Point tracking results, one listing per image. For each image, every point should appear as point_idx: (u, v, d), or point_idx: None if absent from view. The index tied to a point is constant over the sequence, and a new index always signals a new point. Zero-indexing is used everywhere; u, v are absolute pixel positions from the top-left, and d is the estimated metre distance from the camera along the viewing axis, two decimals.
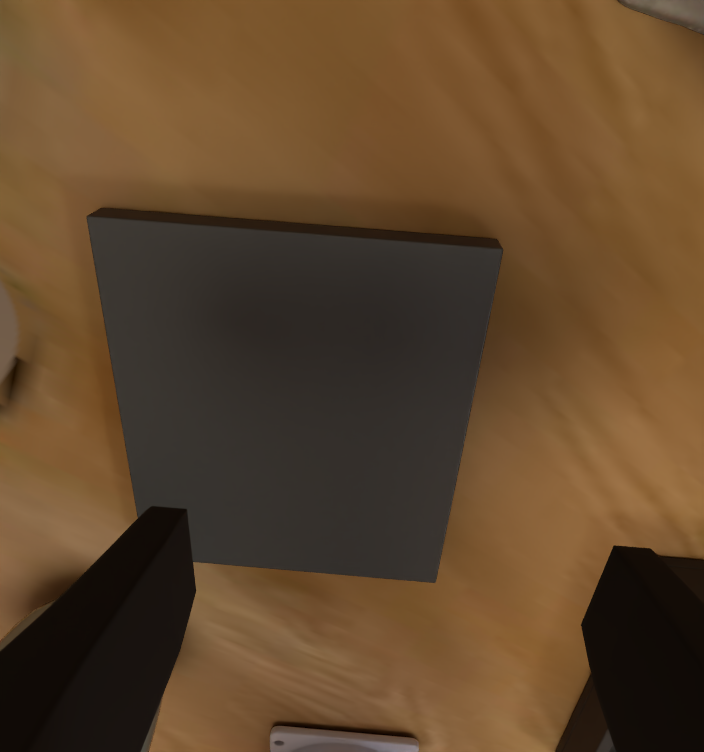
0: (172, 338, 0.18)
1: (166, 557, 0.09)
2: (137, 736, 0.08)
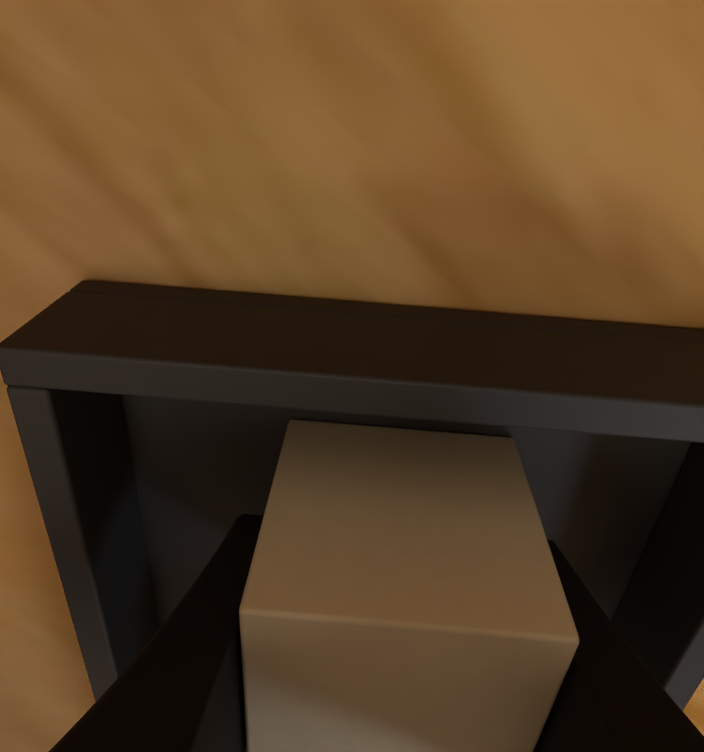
0: None
1: None
2: (241, 746, 0.08)
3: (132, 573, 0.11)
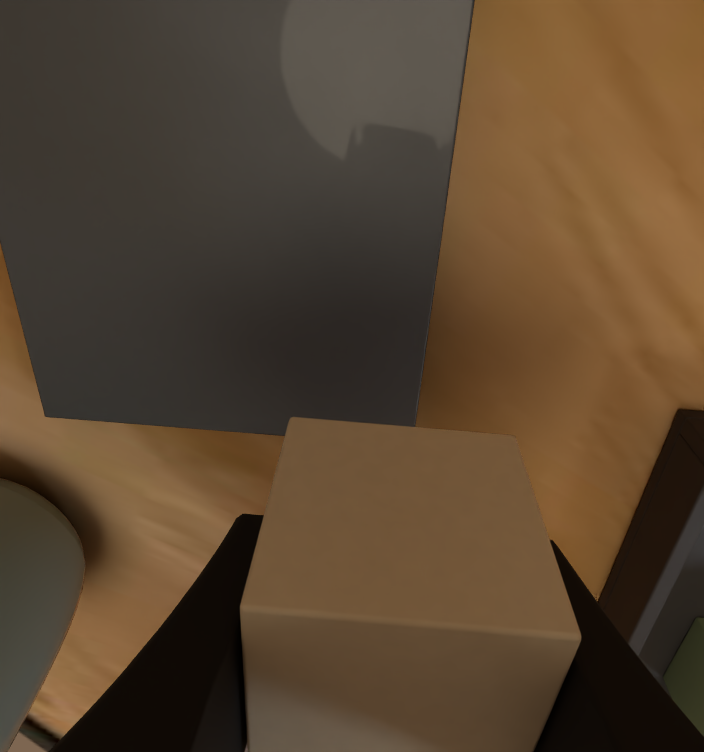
0: (41, 62, 0.13)
1: None
2: (241, 746, 0.08)
3: None
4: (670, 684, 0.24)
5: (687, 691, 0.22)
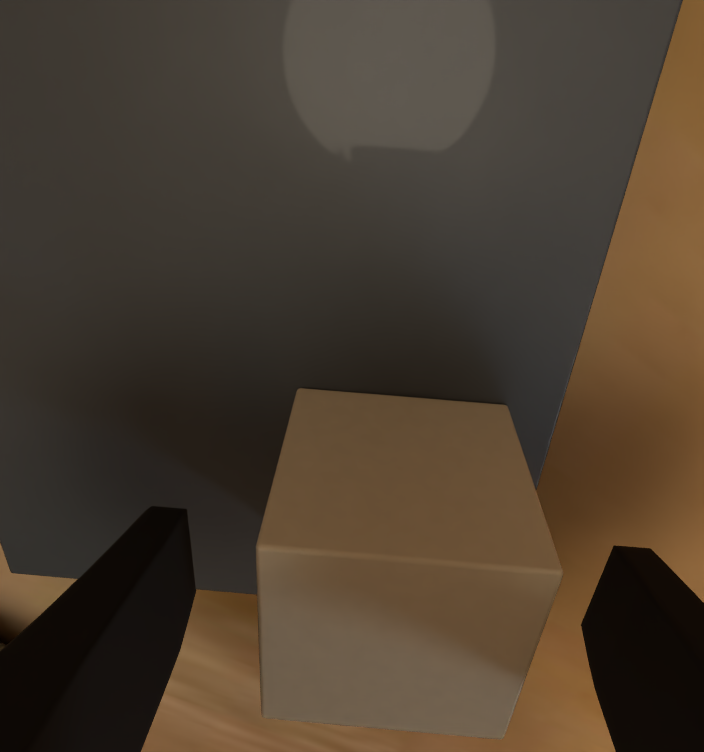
0: None
1: (166, 557, 0.09)
2: (137, 736, 0.08)
3: None
4: None
5: None
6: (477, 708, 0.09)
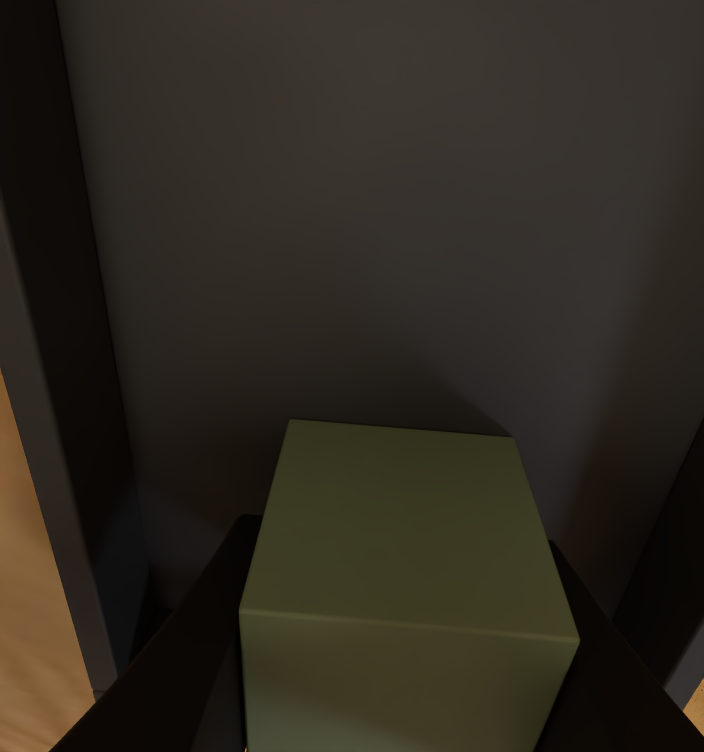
0: None
1: None
2: (241, 745, 0.08)
3: (64, 217, 0.08)
4: None
5: None
6: None
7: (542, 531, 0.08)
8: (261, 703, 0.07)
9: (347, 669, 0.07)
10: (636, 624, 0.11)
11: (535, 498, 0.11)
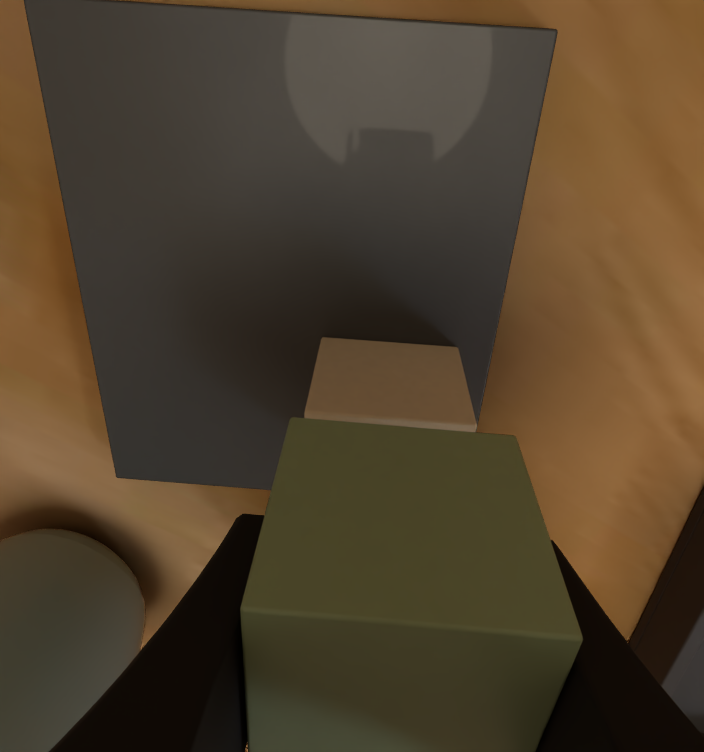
0: (138, 174, 0.15)
1: None
2: (241, 745, 0.08)
3: None
4: None
5: None
6: None
7: (544, 529, 0.08)
8: (262, 702, 0.07)
9: (348, 666, 0.07)
10: None
11: None
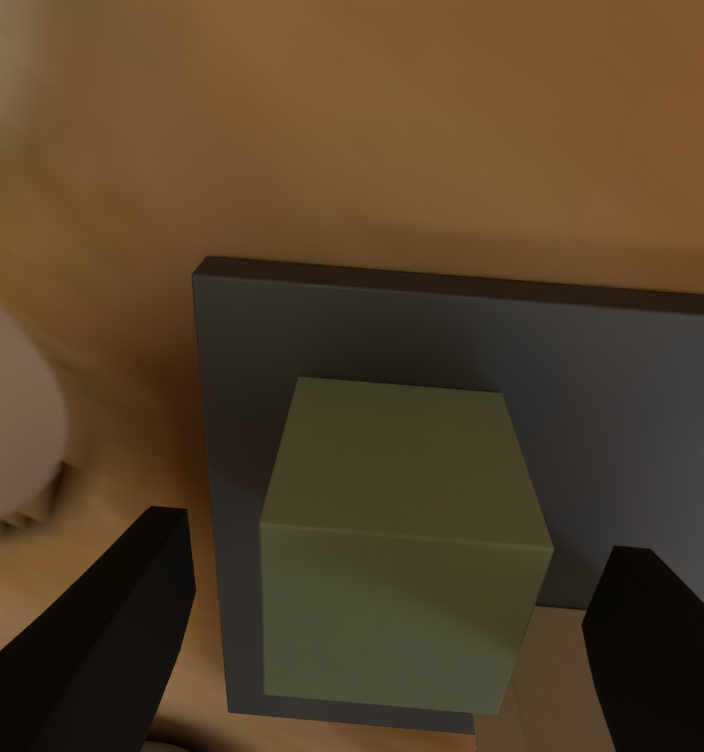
0: None
1: (166, 557, 0.09)
2: (137, 736, 0.08)
3: None
4: None
5: None
6: None
7: (524, 466, 0.09)
8: (276, 614, 0.09)
9: (352, 579, 0.08)
10: None
11: None
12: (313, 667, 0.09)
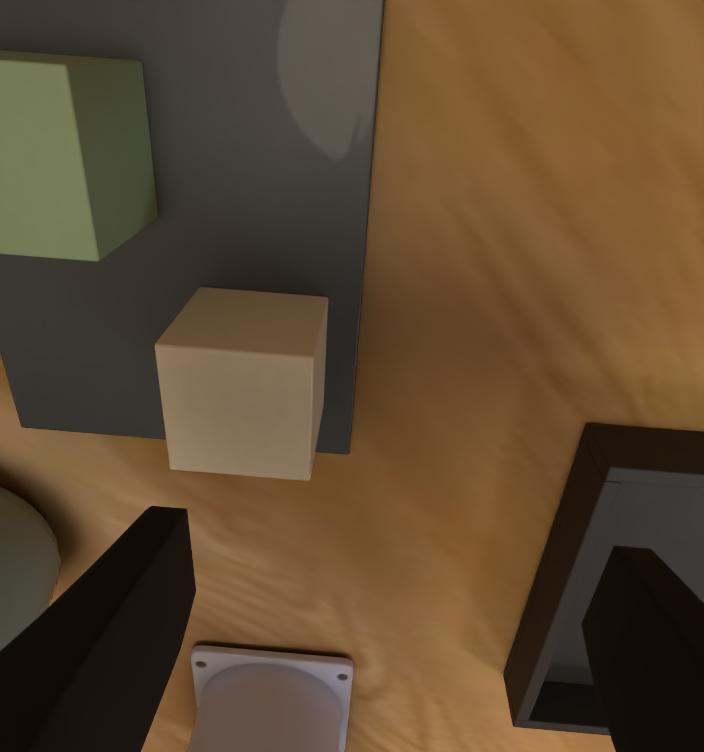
0: None
1: (166, 557, 0.09)
2: (137, 736, 0.08)
3: None
4: None
5: None
6: (289, 456, 0.16)
7: (101, 62, 0.12)
8: None
9: None
10: None
11: None
12: None
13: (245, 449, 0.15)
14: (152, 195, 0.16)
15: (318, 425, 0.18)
